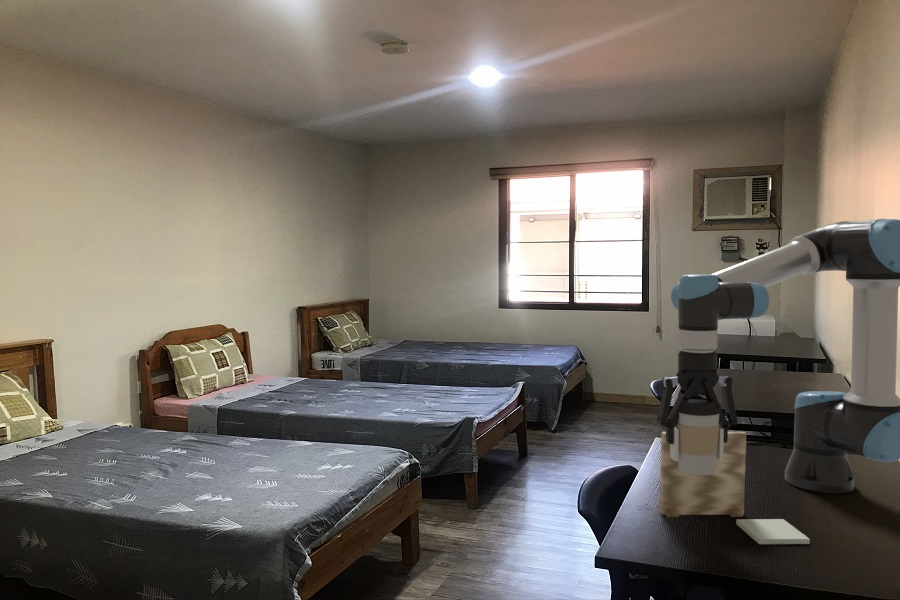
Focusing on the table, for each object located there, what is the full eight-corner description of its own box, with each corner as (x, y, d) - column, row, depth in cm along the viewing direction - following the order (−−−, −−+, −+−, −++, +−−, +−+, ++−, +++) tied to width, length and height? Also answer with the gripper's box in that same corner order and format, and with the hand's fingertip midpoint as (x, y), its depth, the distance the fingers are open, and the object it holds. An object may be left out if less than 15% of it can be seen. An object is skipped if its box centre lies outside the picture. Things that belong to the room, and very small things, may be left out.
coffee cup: (723, 478, 133) (724, 404, 132) (676, 476, 135) (676, 402, 134) (715, 464, 142) (716, 394, 141) (670, 462, 144) (671, 393, 143)
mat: (783, 523, 141) (783, 519, 141) (809, 543, 131) (809, 538, 131) (736, 524, 141) (736, 519, 141) (759, 544, 131) (759, 539, 131)
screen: (737, 509, 149) (740, 429, 148) (746, 516, 145) (749, 435, 144) (657, 509, 149) (659, 430, 148) (664, 517, 145) (666, 435, 144)
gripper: (740, 346, 141) (739, 452, 142) (640, 348, 140) (639, 454, 142) (758, 351, 133) (756, 463, 135) (651, 353, 133) (651, 465, 134)
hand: (696, 458), depth 138 cm, fingers closed on coffee cup, 8 cm apart
